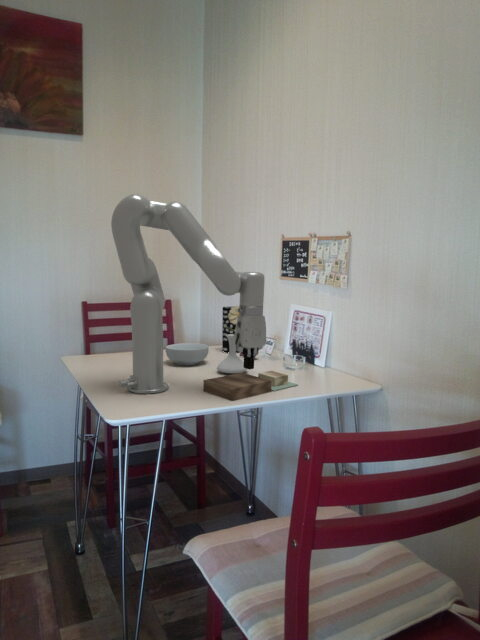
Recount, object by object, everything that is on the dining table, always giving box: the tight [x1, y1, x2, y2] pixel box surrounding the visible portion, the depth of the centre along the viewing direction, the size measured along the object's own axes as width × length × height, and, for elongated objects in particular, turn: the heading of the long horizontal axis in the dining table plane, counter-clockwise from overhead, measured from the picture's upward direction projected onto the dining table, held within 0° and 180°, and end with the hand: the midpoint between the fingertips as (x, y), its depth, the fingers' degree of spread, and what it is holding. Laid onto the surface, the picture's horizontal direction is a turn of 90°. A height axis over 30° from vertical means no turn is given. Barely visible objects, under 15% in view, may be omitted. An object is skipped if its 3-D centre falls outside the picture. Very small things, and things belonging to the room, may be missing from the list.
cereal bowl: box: [165, 342, 210, 366], centre depth 192 cm, size 17×17×7 cm
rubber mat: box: [271, 381, 299, 393], centre depth 161 cm, size 12×15×1 cm
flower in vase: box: [216, 305, 248, 375], centre depth 175 cm, size 13×11×25 cm
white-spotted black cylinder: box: [221, 306, 240, 353], centre depth 217 cm, size 8×8×20 cm
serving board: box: [203, 372, 272, 401], centre depth 151 cm, size 16×14×4 cm
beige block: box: [257, 370, 289, 387], centre depth 161 cm, size 6×8×3 cm
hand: (248, 368), depth 154 cm, fingers closed
